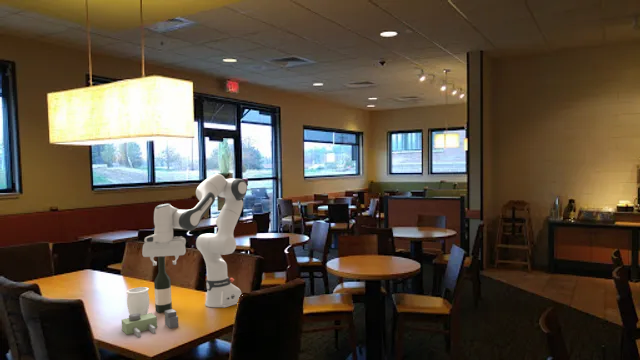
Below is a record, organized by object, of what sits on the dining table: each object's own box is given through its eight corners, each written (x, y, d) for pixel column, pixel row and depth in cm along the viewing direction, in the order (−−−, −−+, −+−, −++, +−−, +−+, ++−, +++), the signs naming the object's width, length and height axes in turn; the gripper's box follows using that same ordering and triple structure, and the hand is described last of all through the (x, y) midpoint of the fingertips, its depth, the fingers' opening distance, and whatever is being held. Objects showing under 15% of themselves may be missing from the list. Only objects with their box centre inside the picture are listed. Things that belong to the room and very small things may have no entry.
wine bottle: (175, 308, 243) (172, 253, 241) (165, 313, 235) (162, 257, 234) (162, 307, 245) (160, 253, 244) (152, 312, 238) (149, 256, 236)
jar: (143, 313, 236) (142, 285, 235) (154, 317, 229) (152, 288, 229) (124, 319, 228) (122, 290, 227) (134, 323, 221) (132, 293, 220)
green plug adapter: (151, 322, 222) (151, 308, 221) (162, 331, 210) (161, 316, 209) (122, 330, 213) (121, 315, 213) (130, 339, 201) (130, 323, 201)
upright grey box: (173, 322, 221) (172, 308, 220) (178, 326, 215) (177, 312, 215) (165, 324, 218) (164, 310, 218) (170, 328, 213) (169, 314, 212)
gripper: (186, 235, 225) (187, 262, 225) (143, 237, 222) (144, 264, 222) (184, 237, 219) (185, 265, 219) (140, 238, 215) (141, 267, 216)
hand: (164, 265), depth 220 cm, fingers open, 8 cm apart
